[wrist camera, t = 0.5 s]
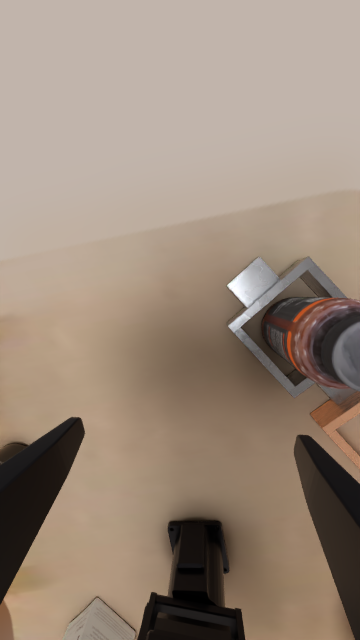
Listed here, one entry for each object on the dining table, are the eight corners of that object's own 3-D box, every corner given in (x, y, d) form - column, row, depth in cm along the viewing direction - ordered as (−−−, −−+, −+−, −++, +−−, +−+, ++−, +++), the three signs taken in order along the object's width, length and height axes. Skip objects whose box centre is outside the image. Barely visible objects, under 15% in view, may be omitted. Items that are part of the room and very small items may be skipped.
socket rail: (473, 449, 21) (508, 470, 18) (388, 498, 23) (410, 523, 20) (277, 239, 21) (286, 232, 19) (207, 303, 23) (207, 304, 20)
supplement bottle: (288, 366, 22) (365, 436, 11) (248, 325, 22) (285, 355, 11) (335, 327, 21) (473, 362, 10) (293, 284, 21) (384, 272, 10)
